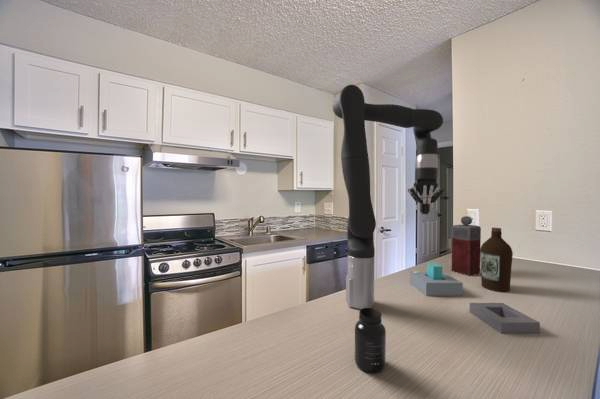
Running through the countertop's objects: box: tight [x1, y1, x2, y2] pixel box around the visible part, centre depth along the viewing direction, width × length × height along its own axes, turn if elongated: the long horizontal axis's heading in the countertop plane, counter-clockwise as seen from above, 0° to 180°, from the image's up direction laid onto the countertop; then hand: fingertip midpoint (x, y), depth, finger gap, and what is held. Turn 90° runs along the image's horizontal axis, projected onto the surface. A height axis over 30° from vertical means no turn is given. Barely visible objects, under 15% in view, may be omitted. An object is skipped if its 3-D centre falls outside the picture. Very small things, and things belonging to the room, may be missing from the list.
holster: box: [468, 302, 541, 334], centre depth 78 cm, size 11×13×3 cm
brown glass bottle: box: [480, 227, 514, 293], centre depth 106 cm, size 11×11×25 cm
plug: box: [426, 262, 443, 280], centre depth 105 cm, size 4×5×10 cm
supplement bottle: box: [354, 307, 387, 374], centre depth 58 cm, size 7×7×12 cm
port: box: [409, 271, 464, 297], centre depth 105 cm, size 14×14×5 cm
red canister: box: [450, 215, 482, 277], centre depth 128 cm, size 9×11×28 cm
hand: (424, 214), depth 96 cm, fingers closed
